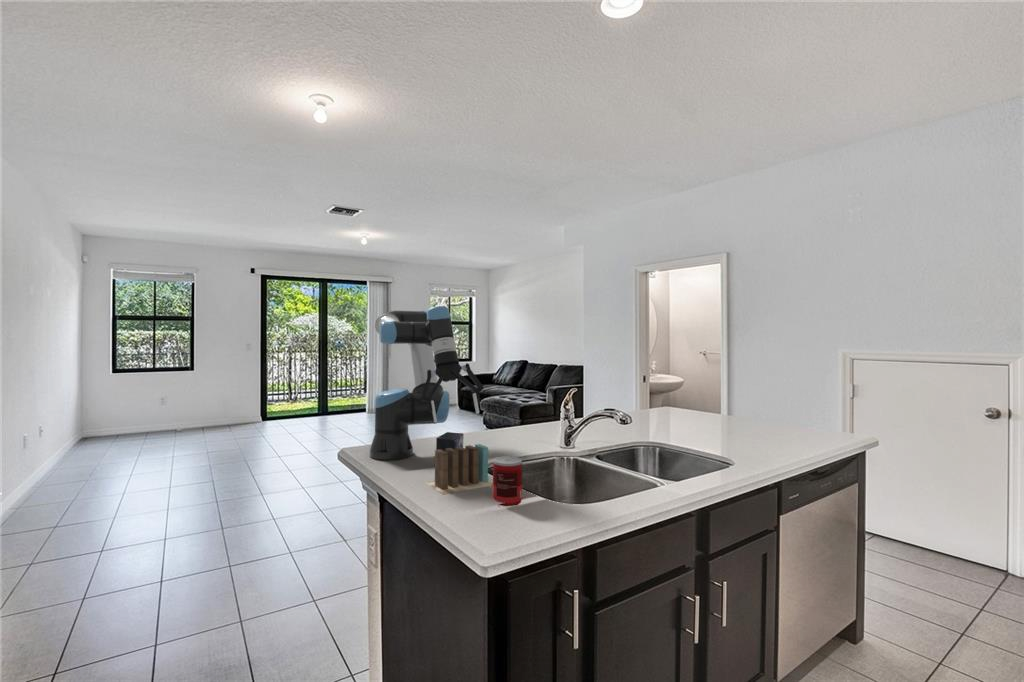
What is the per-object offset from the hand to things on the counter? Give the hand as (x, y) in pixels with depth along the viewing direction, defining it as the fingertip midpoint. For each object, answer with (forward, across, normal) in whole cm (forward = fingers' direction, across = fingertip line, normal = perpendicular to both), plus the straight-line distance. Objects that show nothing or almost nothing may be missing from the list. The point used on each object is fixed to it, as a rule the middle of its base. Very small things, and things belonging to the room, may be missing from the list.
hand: (456, 417), depth 155 cm
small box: (+15, -4, +10) cm, 19 cm away
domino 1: (+19, -9, -14) cm, 25 cm away
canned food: (+26, +6, -25) cm, 36 cm away
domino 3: (+19, -3, -11) cm, 23 cm away
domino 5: (+20, +3, -9) cm, 22 cm away
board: (+20, -3, -11) cm, 23 cm away
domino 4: (+20, 0, -10) cm, 22 cm away
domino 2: (+19, -6, -12) cm, 24 cm away
